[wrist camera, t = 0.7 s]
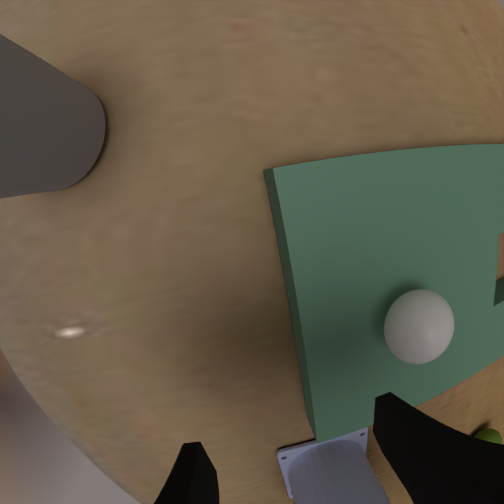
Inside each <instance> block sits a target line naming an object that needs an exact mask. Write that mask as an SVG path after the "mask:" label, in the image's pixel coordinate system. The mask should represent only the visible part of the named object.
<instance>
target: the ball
mask: <svg viewBox="0 0 504 504" xmlns="http://www.w3.org/2000/svg"><path fill="white" fill-rule="evenodd" d="M453 333H454V316H453V312H452V310H451V307H450V306H449V304H448V302H447V301H446V300H445V299H444V298H443V297H442V296H440V295H439V294H438V293H436V292H433V291H430V290H426V289H417V290H412V291H409V292H407V293H405V294H403V295H402V296H400V297H399V298H398V299H397V300H396V301H395V302H394V303H393V304H392V305H391V307H390V309H389V310H388V312H387V315H386V318H385V322H384V337H385V341H386V343H387V346H388V348H389V349H390V351H391V352H392V353H393V354H394V355H395V356H396V357H397V358H398V359H400V360H401V361H404V362H406V363H410V364H424V363H427V362H430V361H432V360H434V359H436V358H437V357H439V356H440V355H441V354H442V353H443V352H444V351H445V350H446V348H447V347H448V345H449V344H450V342H451V339H452V336H453Z"/></svg>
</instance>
